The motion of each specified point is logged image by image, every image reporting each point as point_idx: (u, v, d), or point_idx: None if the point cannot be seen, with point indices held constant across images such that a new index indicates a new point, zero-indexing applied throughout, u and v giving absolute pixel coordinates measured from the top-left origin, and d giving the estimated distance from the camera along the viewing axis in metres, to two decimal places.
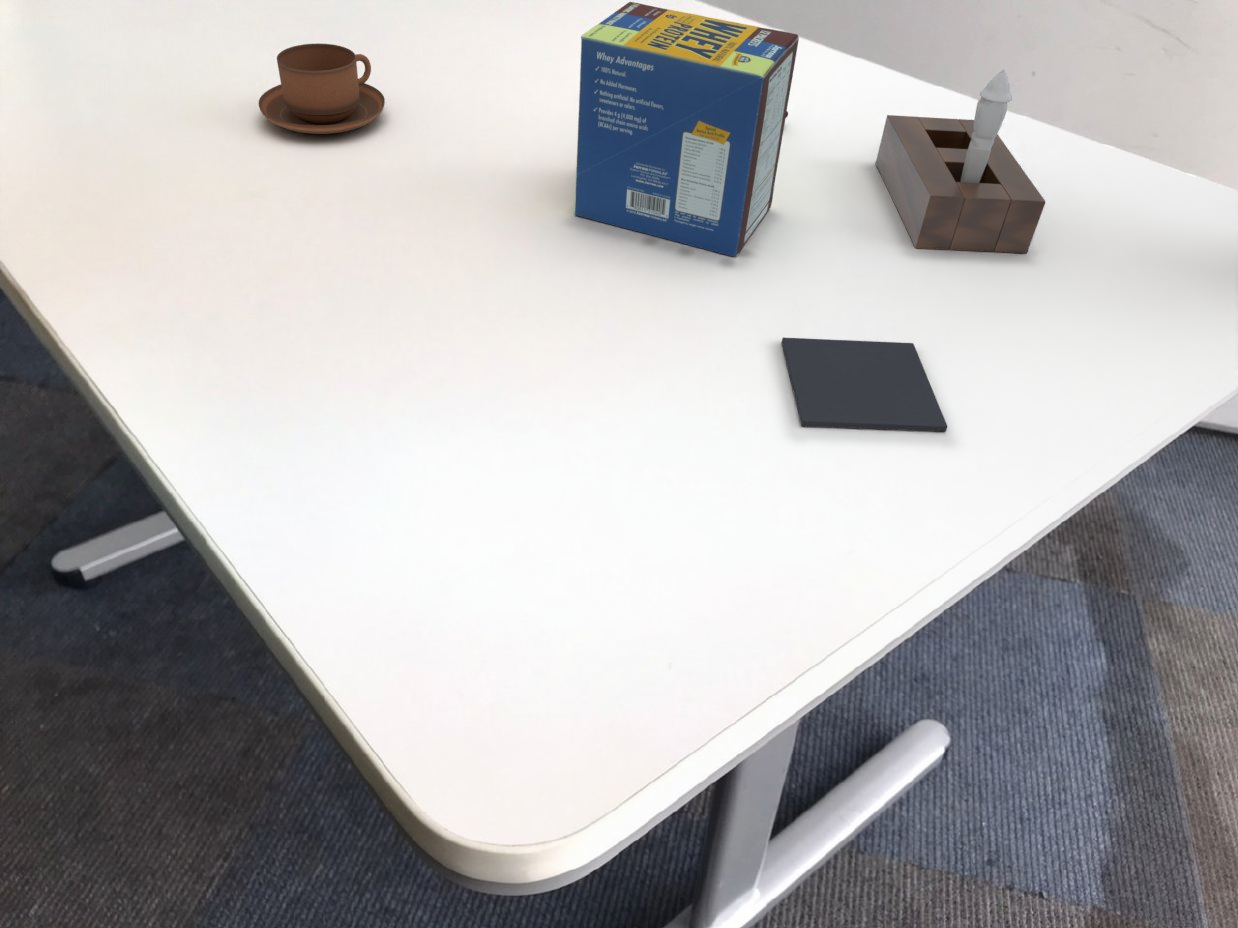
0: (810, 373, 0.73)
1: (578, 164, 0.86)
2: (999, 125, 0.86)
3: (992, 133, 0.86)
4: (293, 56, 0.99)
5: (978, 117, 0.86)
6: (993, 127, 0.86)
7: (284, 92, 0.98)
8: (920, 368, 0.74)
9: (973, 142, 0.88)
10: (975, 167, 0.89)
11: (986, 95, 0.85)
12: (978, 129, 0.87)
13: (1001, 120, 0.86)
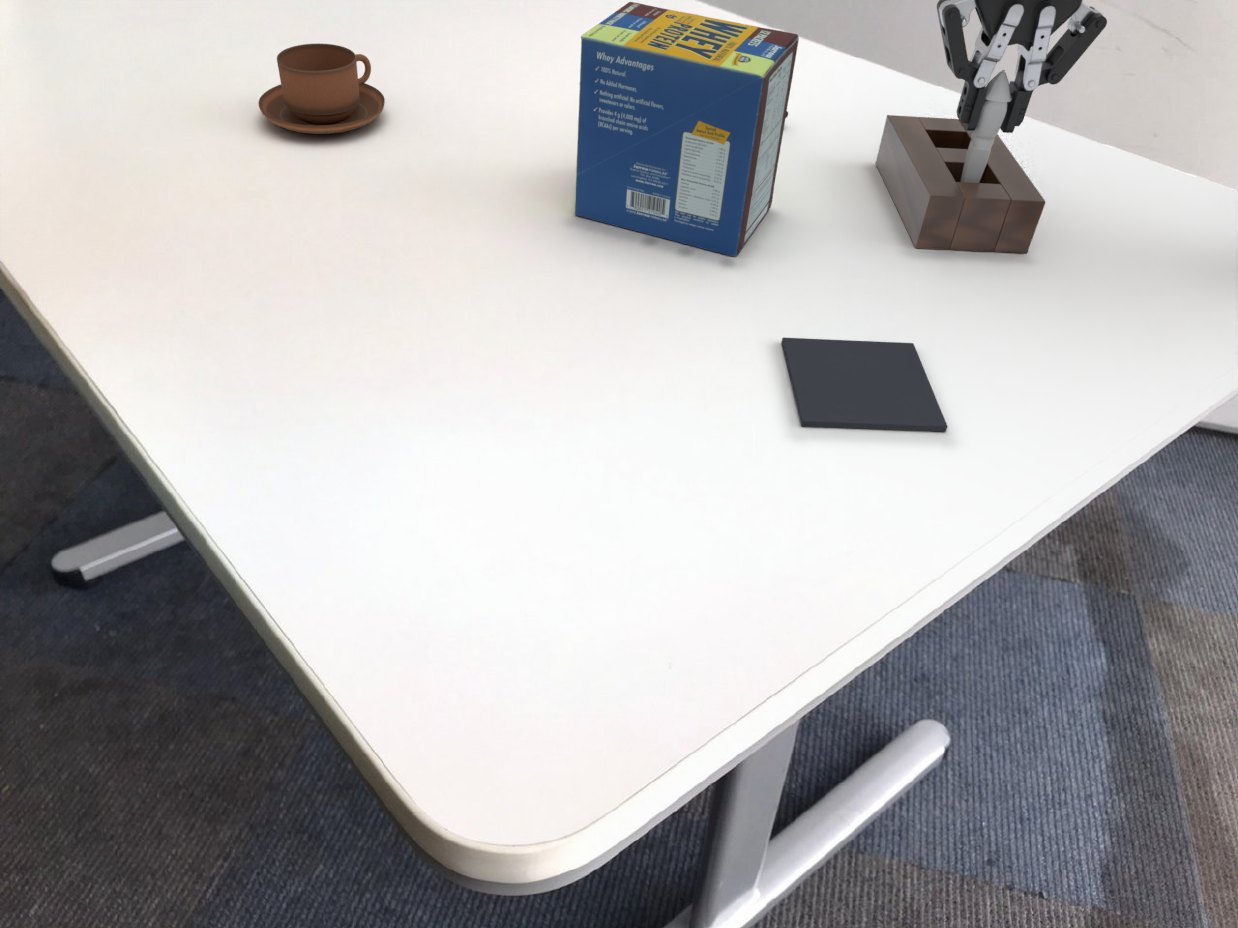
0: (810, 373, 0.73)
1: (578, 164, 0.86)
2: (999, 125, 0.86)
3: (992, 133, 0.86)
4: (293, 56, 0.99)
5: None
6: (993, 127, 0.86)
7: (284, 92, 0.98)
8: (920, 368, 0.74)
9: (973, 142, 0.88)
10: (975, 167, 0.89)
11: (986, 95, 0.85)
12: (978, 129, 0.87)
13: (1001, 120, 0.86)
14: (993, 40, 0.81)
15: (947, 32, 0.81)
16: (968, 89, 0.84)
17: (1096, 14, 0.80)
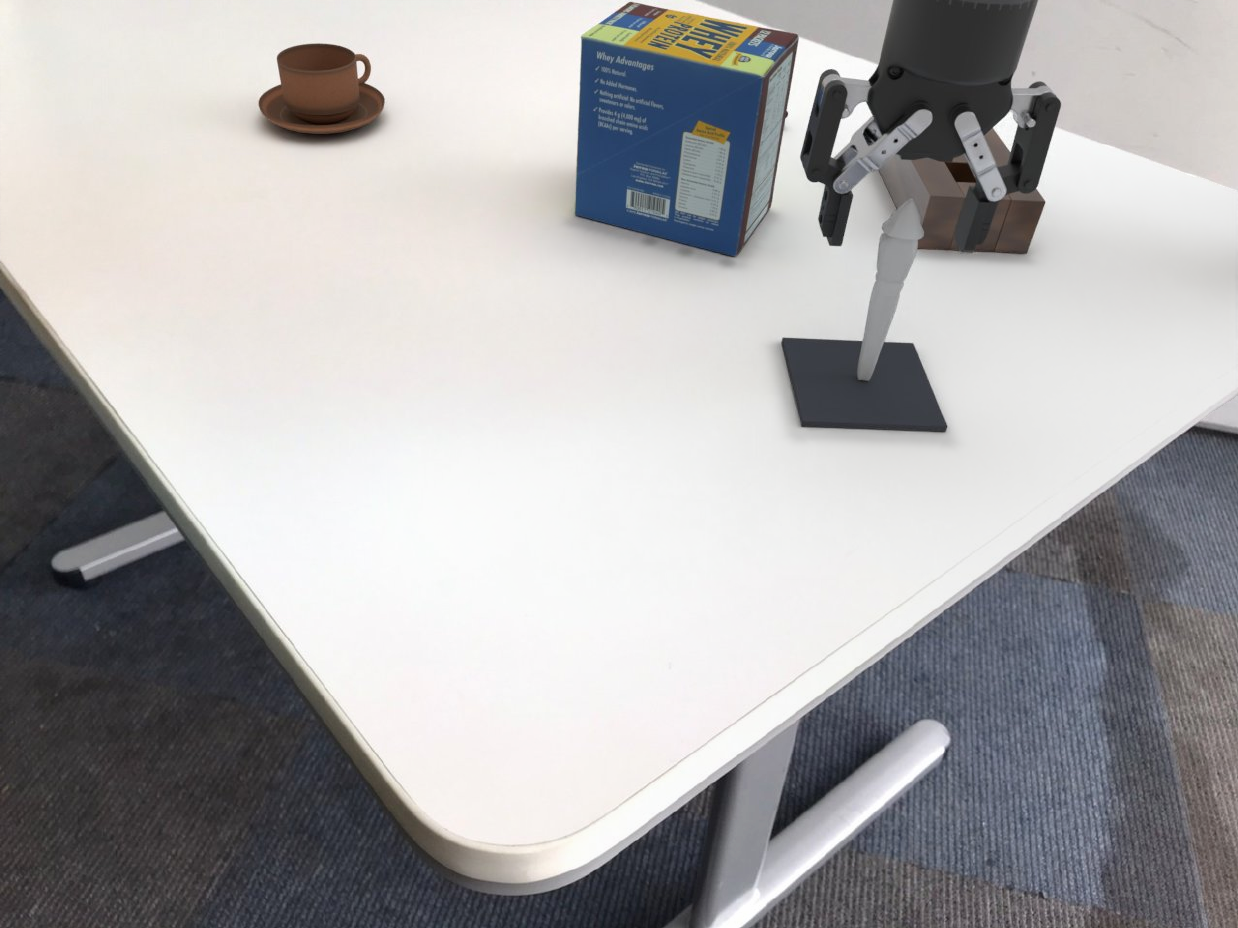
0: (810, 373, 0.73)
1: (578, 164, 0.86)
2: (908, 267, 0.66)
3: (899, 276, 0.66)
4: (292, 56, 0.99)
5: (881, 256, 0.66)
6: (900, 269, 0.66)
7: (284, 92, 0.98)
8: (920, 368, 0.74)
9: (877, 285, 0.67)
10: (881, 316, 0.69)
11: (889, 230, 0.64)
12: (882, 271, 0.66)
13: (910, 261, 0.65)
14: (880, 141, 0.59)
15: (821, 114, 0.59)
16: (828, 194, 0.63)
17: (1042, 96, 0.59)
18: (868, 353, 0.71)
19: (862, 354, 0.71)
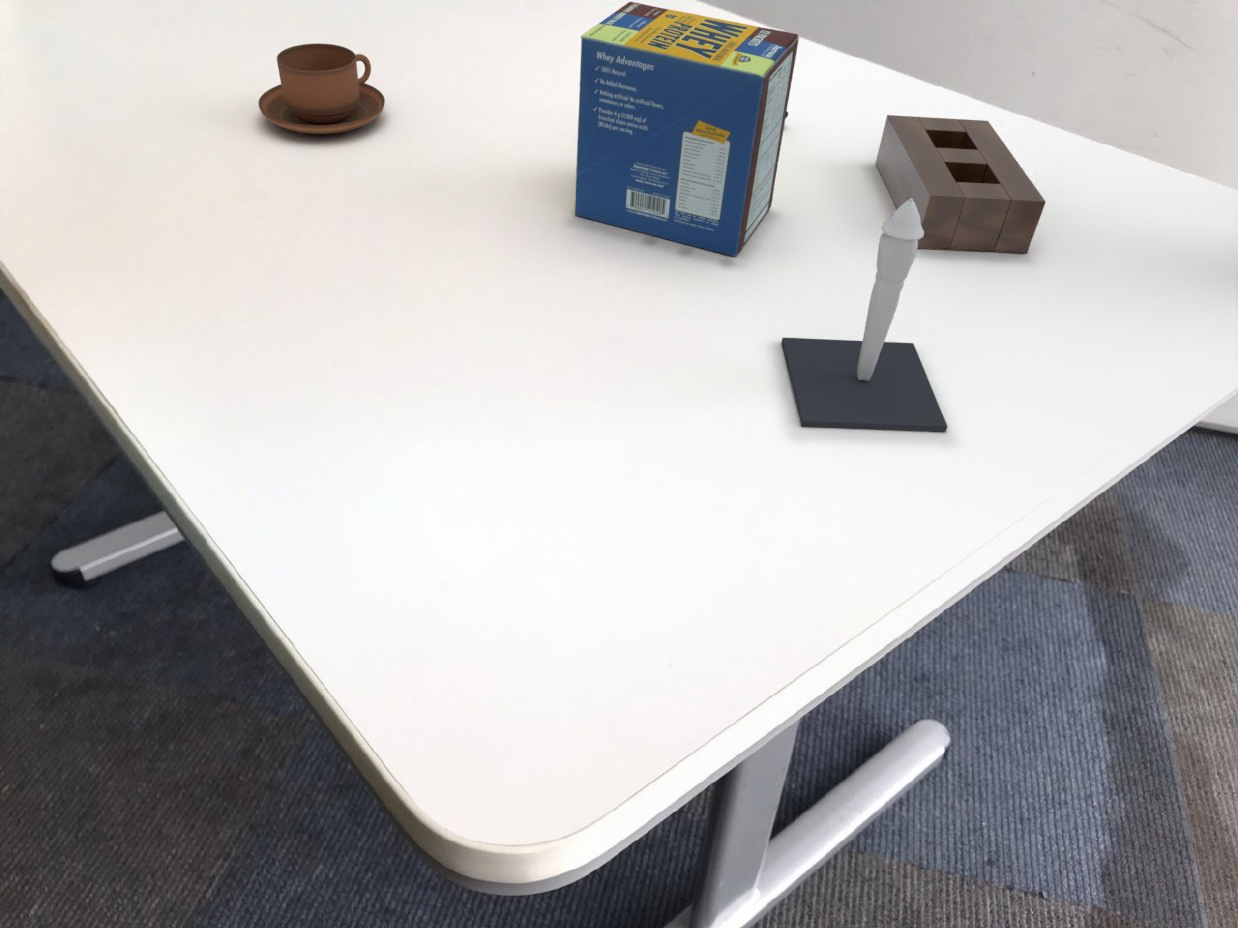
0: (810, 373, 0.73)
1: (578, 164, 0.86)
2: (908, 267, 0.66)
3: (899, 276, 0.66)
4: (293, 56, 0.99)
5: (881, 256, 0.66)
6: (900, 269, 0.66)
7: (284, 92, 0.98)
8: (920, 368, 0.74)
9: (877, 285, 0.67)
10: (881, 316, 0.69)
11: (889, 230, 0.64)
12: (882, 271, 0.66)
13: (910, 261, 0.65)
14: None
15: None
16: None
17: None
18: (868, 353, 0.71)
19: (862, 354, 0.71)
